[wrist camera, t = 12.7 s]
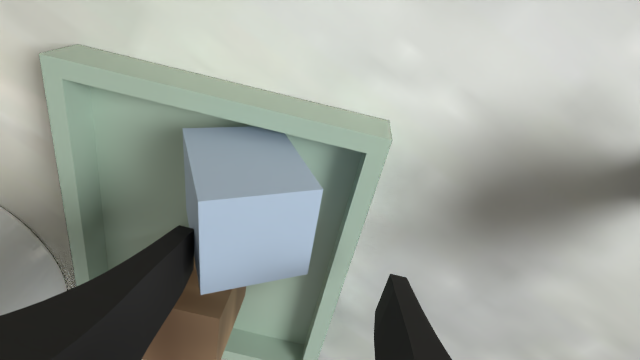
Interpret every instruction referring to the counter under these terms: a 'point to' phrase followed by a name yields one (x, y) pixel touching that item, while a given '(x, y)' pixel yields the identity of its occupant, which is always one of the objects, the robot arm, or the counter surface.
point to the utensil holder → (25, 267)
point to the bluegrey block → (248, 206)
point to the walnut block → (197, 324)
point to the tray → (169, 179)
